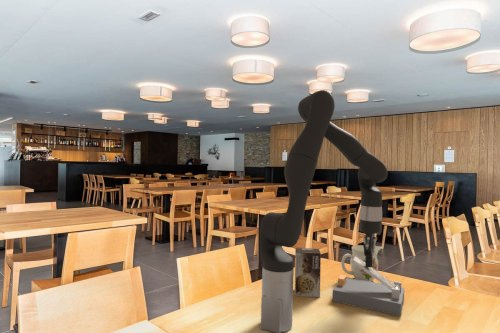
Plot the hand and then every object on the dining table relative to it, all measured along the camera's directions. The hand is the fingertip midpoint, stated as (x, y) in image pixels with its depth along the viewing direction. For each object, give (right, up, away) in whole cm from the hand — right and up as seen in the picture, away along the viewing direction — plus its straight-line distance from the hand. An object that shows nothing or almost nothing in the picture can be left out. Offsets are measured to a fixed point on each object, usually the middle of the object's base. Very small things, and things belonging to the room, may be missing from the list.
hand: (368, 266), depth 121 cm
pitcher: (+4, -12, +20) cm, 24 cm away
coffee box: (-21, -12, +4) cm, 25 cm away
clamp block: (0, -12, 0) cm, 12 cm away
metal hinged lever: (+1, -3, -1) cm, 4 cm away
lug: (-8, -8, +4) cm, 12 cm away
